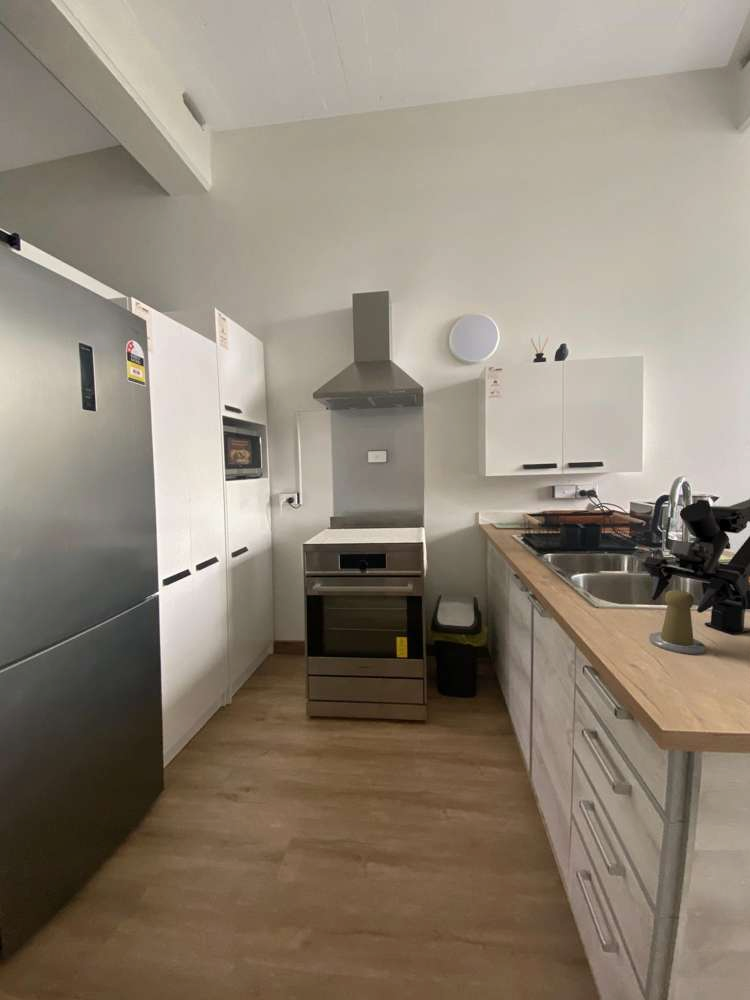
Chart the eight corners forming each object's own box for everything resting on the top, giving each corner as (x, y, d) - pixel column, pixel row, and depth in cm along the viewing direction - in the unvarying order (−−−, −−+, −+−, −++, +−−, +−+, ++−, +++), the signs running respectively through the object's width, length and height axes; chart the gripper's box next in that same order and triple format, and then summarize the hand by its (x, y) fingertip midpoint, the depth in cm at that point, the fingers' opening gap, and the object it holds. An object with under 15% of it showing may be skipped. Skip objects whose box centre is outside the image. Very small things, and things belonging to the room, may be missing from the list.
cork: (701, 645, 92) (704, 594, 91) (675, 646, 91) (678, 595, 90) (677, 634, 98) (680, 587, 97) (653, 635, 97) (656, 588, 96)
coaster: (672, 633, 100) (672, 630, 100) (716, 651, 91) (716, 647, 91) (638, 638, 98) (638, 634, 98) (680, 656, 88) (680, 652, 88)
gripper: (649, 522, 102) (618, 572, 98) (744, 533, 86) (711, 594, 82) (667, 552, 106) (637, 601, 102) (760, 567, 90) (730, 627, 86)
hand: (674, 605), depth 93 cm, fingers open, 9 cm apart
